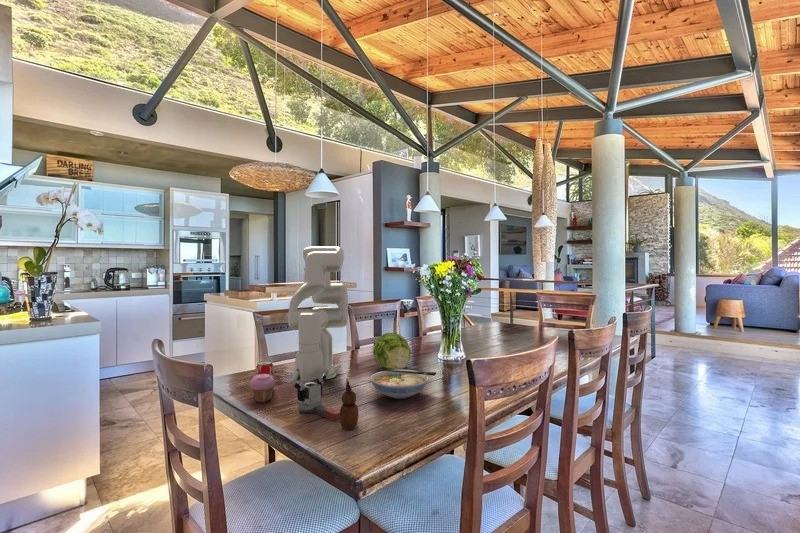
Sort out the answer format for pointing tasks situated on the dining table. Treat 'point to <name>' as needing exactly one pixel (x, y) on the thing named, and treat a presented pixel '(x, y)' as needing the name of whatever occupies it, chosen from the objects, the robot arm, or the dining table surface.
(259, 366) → the soda can
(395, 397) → the ramen bowl
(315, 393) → the socket
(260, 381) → the cupcake
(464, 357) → the dining table surface
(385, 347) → the lettuce
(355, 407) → the wooden figurine
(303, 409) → the ratchet
